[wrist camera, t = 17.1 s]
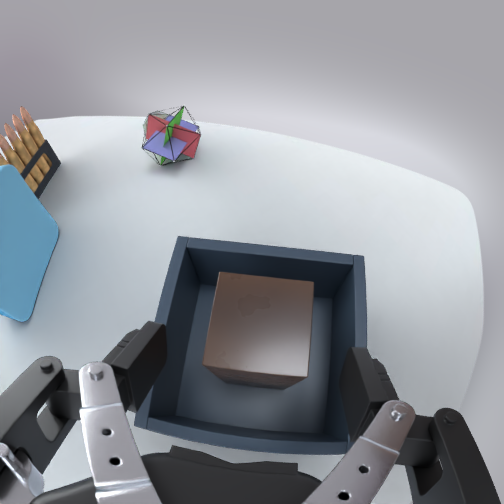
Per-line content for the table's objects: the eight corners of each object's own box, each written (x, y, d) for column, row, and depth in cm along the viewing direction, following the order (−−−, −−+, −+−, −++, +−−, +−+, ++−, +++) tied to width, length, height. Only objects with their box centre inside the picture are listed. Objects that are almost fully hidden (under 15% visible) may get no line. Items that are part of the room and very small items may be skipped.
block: (284, 390, 19) (308, 377, 11) (225, 383, 20) (201, 364, 11) (290, 334, 22) (314, 281, 13) (233, 328, 22) (219, 271, 13)
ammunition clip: (53, 163, 35) (21, 103, 24) (61, 162, 34) (29, 101, 24) (18, 219, 29) (-28, 160, 19) (26, 220, 29) (-22, 159, 19)
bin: (339, 294, 24) (364, 255, 18) (329, 441, 18) (359, 453, 12) (195, 278, 25) (177, 235, 19) (167, 421, 19) (133, 425, 13)
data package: (38, 228, 28) (-13, 162, 18) (62, 229, 28) (9, 156, 18) (6, 318, 22) (-67, 267, 12) (29, 326, 22) (-52, 273, 12)
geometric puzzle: (224, 131, 32) (181, 83, 28) (202, 167, 29) (149, 115, 24) (187, 151, 37) (147, 112, 32) (164, 187, 34) (118, 144, 29)
